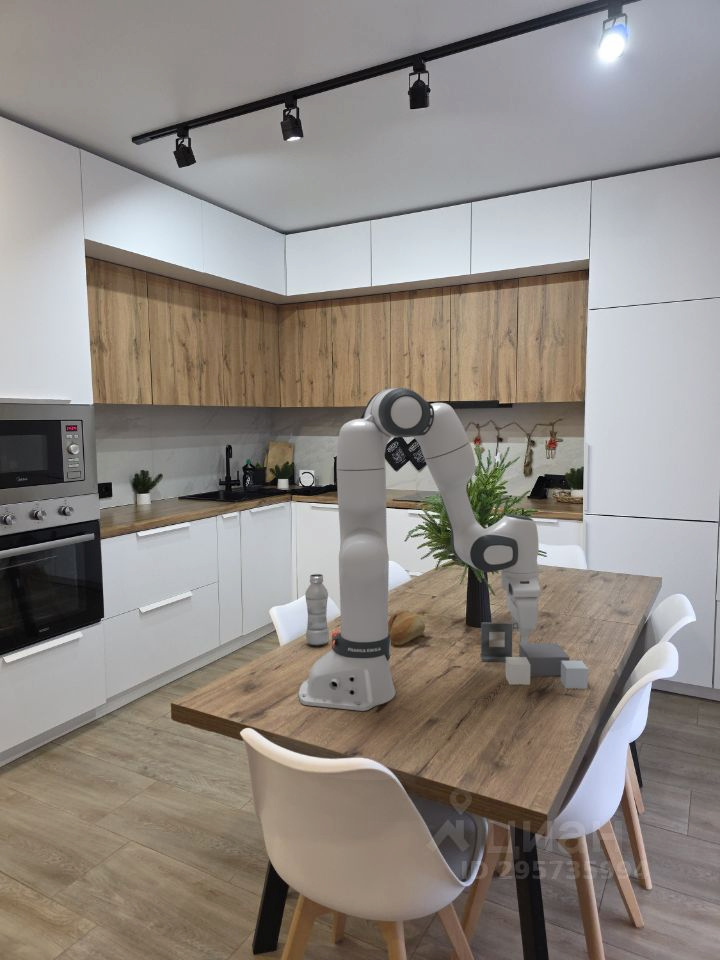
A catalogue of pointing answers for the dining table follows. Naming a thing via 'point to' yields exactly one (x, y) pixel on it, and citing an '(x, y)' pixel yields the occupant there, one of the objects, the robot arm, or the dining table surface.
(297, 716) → the dining table surface
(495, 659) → the standing grey panel
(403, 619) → the bread roll
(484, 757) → the dining table surface
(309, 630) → the plastic bottle
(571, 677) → the grey blue cube
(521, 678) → the ivory cube
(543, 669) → the base block
